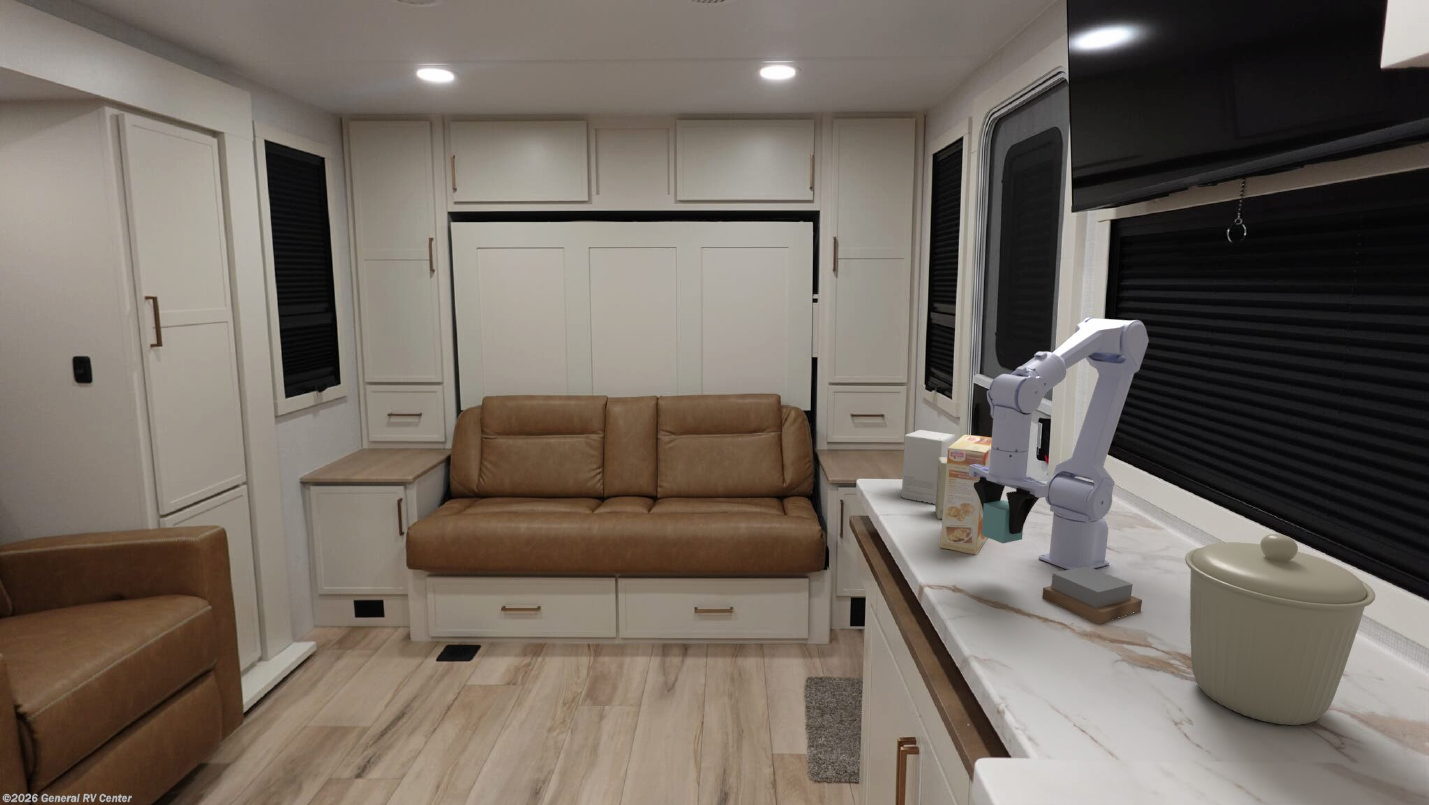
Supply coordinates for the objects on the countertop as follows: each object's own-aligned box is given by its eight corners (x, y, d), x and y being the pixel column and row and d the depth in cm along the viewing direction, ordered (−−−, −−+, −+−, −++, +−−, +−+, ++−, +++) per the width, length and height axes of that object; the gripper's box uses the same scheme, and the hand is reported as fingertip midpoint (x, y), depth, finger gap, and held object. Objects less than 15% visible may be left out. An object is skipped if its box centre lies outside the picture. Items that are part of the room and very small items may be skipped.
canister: (1141, 661, 101) (1160, 509, 98) (1278, 665, 101) (1302, 513, 97) (1227, 743, 84) (1253, 561, 80) (1394, 749, 83) (1428, 567, 80)
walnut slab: (1082, 591, 126) (1083, 577, 125) (1140, 615, 117) (1142, 600, 117) (1041, 602, 121) (1043, 587, 120) (1099, 628, 112) (1101, 612, 112)
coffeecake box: (977, 555, 139) (986, 452, 136) (938, 548, 142) (945, 447, 139) (992, 532, 152) (1000, 437, 149) (956, 526, 155) (963, 433, 152)
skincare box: (958, 521, 159) (963, 464, 157) (937, 519, 159) (941, 463, 157) (955, 512, 165) (959, 457, 163) (934, 510, 166) (938, 456, 164)
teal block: (1000, 531, 129) (1002, 500, 128) (1022, 539, 125) (1024, 507, 124) (981, 535, 127) (983, 503, 126) (1003, 543, 123) (1005, 511, 122)
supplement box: (952, 497, 176) (957, 434, 174) (937, 505, 169) (942, 440, 167) (916, 489, 182) (920, 428, 179) (900, 497, 175) (904, 434, 172)
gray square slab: (1085, 580, 124) (1086, 565, 123) (1130, 599, 117) (1132, 584, 116) (1051, 588, 120) (1052, 573, 120) (1095, 608, 113) (1097, 592, 113)
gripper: (958, 441, 128) (952, 518, 130) (1030, 460, 115) (1022, 545, 117) (987, 438, 131) (981, 513, 133) (1060, 456, 118) (1052, 539, 121)
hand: (1002, 528), depth 126 cm, fingers closed on teal block, 4 cm apart
